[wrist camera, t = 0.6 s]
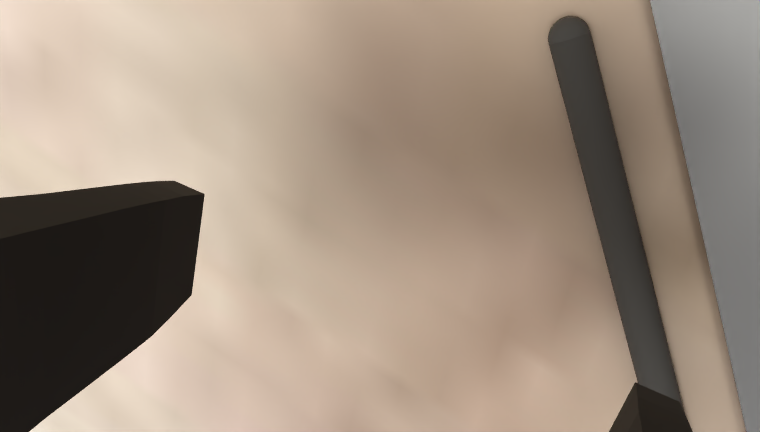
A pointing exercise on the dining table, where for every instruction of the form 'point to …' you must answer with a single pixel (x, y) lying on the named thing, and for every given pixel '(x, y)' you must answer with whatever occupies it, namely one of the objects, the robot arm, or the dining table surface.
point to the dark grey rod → (612, 203)
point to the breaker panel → (722, 159)
